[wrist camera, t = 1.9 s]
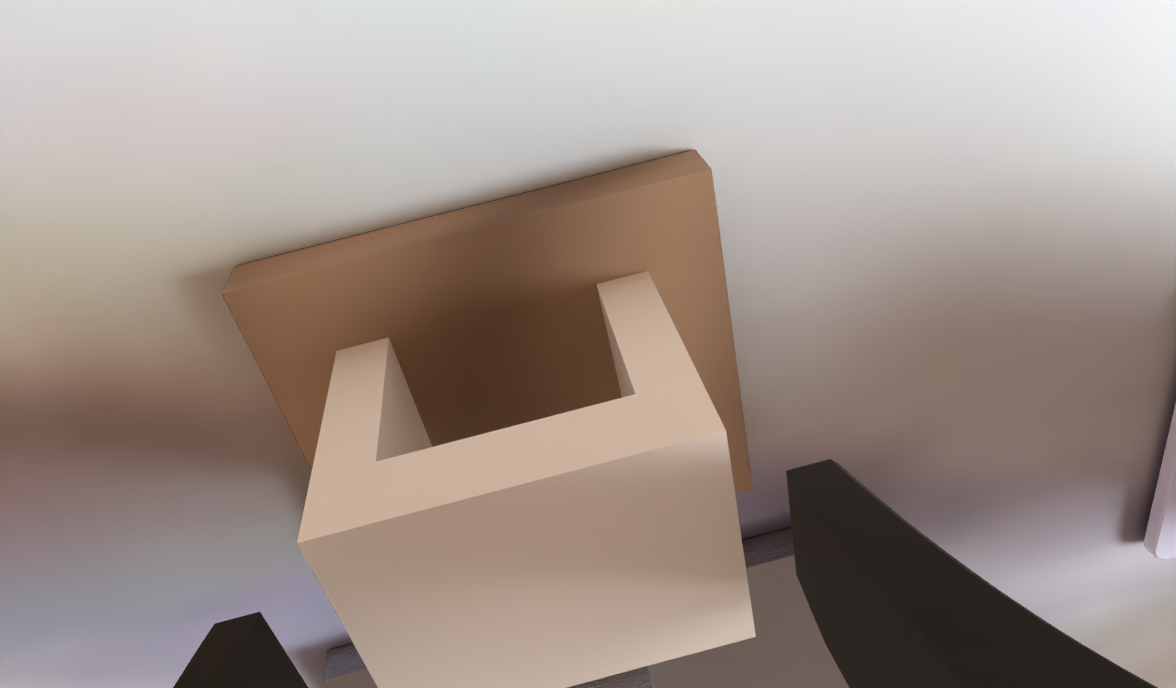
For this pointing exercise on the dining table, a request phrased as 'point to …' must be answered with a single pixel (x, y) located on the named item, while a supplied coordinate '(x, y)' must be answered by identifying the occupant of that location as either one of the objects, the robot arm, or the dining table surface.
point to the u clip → (530, 523)
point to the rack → (719, 675)
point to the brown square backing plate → (500, 303)
